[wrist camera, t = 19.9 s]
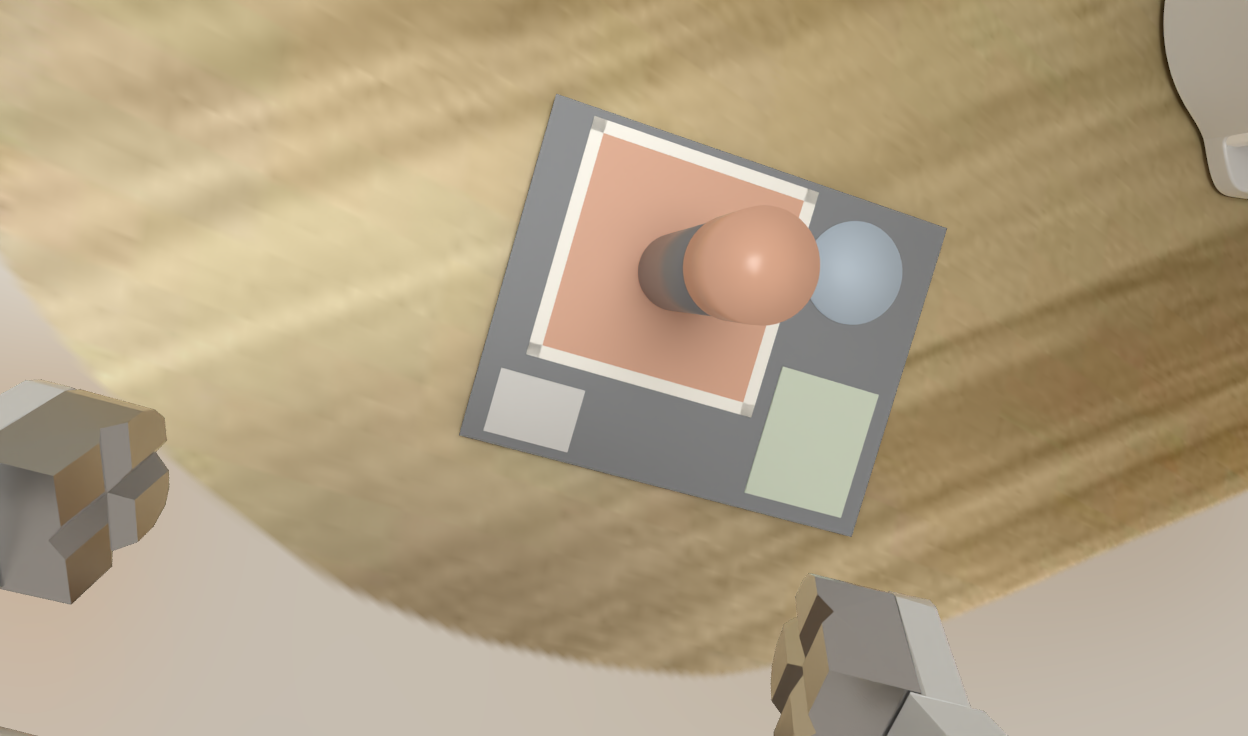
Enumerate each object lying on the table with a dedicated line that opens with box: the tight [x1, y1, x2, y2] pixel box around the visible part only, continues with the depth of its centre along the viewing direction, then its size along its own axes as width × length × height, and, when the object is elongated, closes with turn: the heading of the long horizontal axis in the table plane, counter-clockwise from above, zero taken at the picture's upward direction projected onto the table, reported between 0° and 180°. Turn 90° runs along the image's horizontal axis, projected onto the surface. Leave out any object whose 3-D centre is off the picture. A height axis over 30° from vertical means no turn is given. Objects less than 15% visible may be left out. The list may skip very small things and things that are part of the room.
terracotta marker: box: [638, 205, 820, 326], centre depth 31 cm, size 4×4×12 cm
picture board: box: [459, 94, 947, 537], centre depth 38 cm, size 20×16×1 cm
